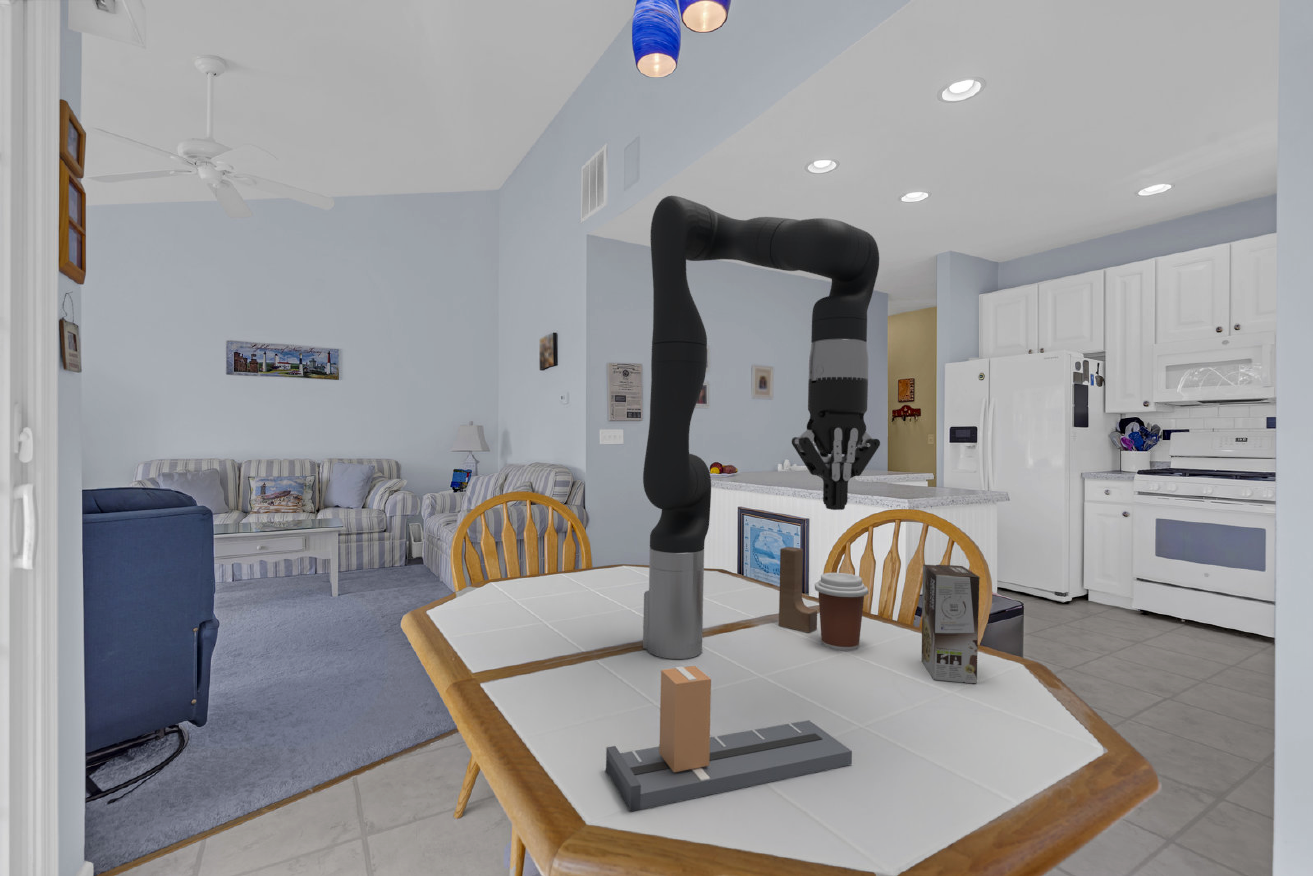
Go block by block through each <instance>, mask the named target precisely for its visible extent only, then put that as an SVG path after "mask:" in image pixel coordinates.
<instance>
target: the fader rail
mask: <svg viewBox="0 0 1313 876" xmlns="http://www.w3.org/2000/svg"><path fill="white" fill-rule="evenodd" d="M605 749H606V751H605V752H606V753H605V756H606V757H605V770H606V772H607V774H608V776H609V777H610V779H611V781H612V783H613V784H614V786H615V788H616V789H617V791H618V793H619V794H620V796H621V798H622V800H623V801H624V803H625V805H626V806H627V808H628V810H629V812H630V813H631V812H635V811H641V810H645V809H650V808H654V807H659V806H663V805H668V804H673V803H678V802H682V801H687V800H691V799H696V798H697V799H698V798H701V797H705V796H706V797H707V796H711V795H716V794H720V793H725V792H729V791H733V790H739V789H743V788H749V787H752V786H758V785H763V784H767V783H772V782H777V781H781V780H786V779H791V778H795V777H799V776H805V775H809V774H814V773H818V772H823V771H827V770H832V769H838V768H841V767H846V766H851V765H853V751H852V750H851V749H850V748H849V747H847V746H846V745H844V744H843V743H842V742H841V741H839V740H838V739H836V738H835V737H833V735H830V734H829V733H828V732H826V731H825V730H824V729H822V728H820V726H818V725H817V724H815V723H813V722H812V721H811V720H809V719H808V720H803V721H797V722H791V723H790V722H789V723H783V724H779V725H774V726H768V727H761V728H756V729H750V730H744V731H740V732H734V733H728V734H723V735H717V736H712V737H711V736H710V755H709V766H704V767H699V768H694V769H689V770H683V771H678V772H673V770H672V769H671V768H670V767H669V765H668V764H667V763H666V761H665V760H664V759H663V758H662V756H661V755H660V754H659V746H654V747H650V748H649V747H648V748H644V749H637V750H631V751H625V752H620V751H619V749H618V748H617V746H616V745H612V746H607V747H606V748H605Z"/></svg>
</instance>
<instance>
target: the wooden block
mask: <svg viewBox="0 0 1313 876" xmlns="http://www.w3.org/2000/svg"><path fill="white" fill-rule="evenodd" d="M779 553H780V555H779V557H780V558H779V594H778V595H779V600H778V601H779V602H778V605H779V606H778V626H779V627H783V628H787V629H791V630H795V631H799V632H803V633H807V634H810V633H812V632H814V631H817V630H818V610H816V609H814V608H813V609H812V608H810V607H808V606H807V605H806V604H805V603H804V600H803V571H804V569H803V566H804V565H803V563H804V562H803V561H804V559H803V557H804V548H800V547H792V546H786V547H781V548H780V549H779Z"/></svg>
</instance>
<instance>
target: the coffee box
mask: <svg viewBox="0 0 1313 876" xmlns="http://www.w3.org/2000/svg"><path fill="white" fill-rule="evenodd" d="M980 578H981V577H980V576H979V575H977V574H976V573H974V572H972V571H971V570H969V569H968V568H966V567H964V566H963V565H954V564H953V565H951V564H936V565H935V564H923V565H922V588H921V589H922V595H921V596H922V599H921V601H922V602H921V604H922V605H921V606H922V608H921V662H922V663H923V665H924V666H925V668H926V670H927V671H928V672H929V674H930V676H931V677H932V678H933V680H936V681H945V682H947V681H948V682H956V683H963V682H965V684H972V683H976V684H977V682H978V681H977V680H978V676H977V675H978V648H979V647H978V645H979V643H978V642H979V614H980V613H979V612H980V610H979V607H980V605H979V604H980Z"/></svg>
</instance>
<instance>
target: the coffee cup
mask: <svg viewBox="0 0 1313 876" xmlns="http://www.w3.org/2000/svg"><path fill="white" fill-rule="evenodd" d="M814 591H816V592H818V604H819V605H818V606H819V620H820V621H819V623H820V624H819V625H820V639H821V645H823V646H824V647H825V648H828V649H830V650H835V651H844V652H849V651H851V652H852V651H856V650H858V649H859V648H860V641H861V640H860V639H861V630H862V629H861V628H862V620H863V619H862V618H863V612H864V611H863V610H864V601H865V596H867V595H868V594H869V589H868V587H867V586H865V584H864V583H863V578H862V577H861V576H859V575H856V574H852V573H844V572H825V573H822V574H821V575H820V579H818V581H817V582H816V583H814Z"/></svg>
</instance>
